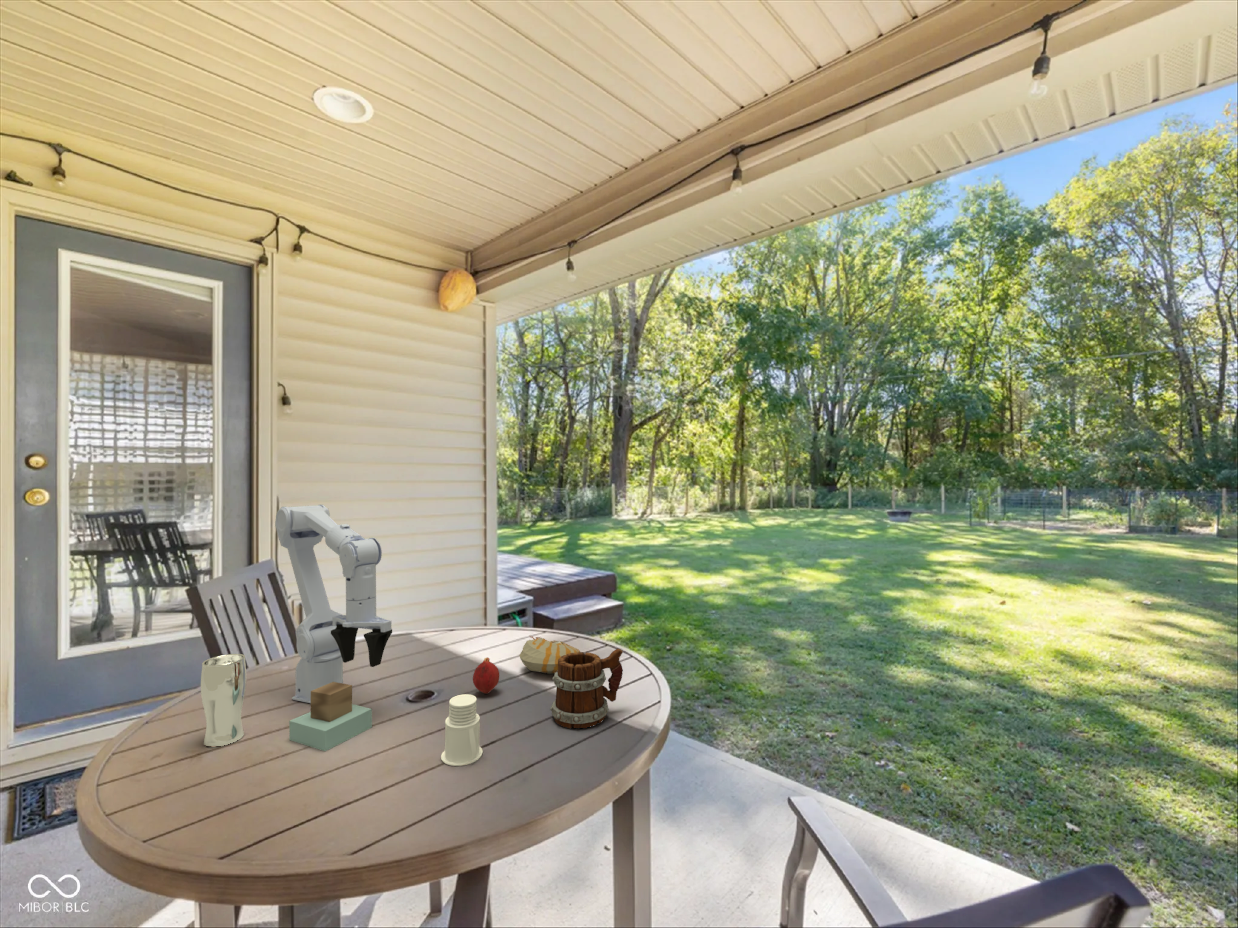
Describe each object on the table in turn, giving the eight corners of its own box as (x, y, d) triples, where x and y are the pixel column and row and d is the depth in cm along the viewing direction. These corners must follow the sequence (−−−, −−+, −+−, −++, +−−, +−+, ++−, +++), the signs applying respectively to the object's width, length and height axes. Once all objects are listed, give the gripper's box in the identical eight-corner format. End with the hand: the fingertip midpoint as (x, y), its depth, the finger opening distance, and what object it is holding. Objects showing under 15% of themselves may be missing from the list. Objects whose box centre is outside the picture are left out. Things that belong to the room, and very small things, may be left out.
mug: (541, 708, 114) (553, 636, 115) (605, 710, 118) (616, 641, 119) (552, 733, 103) (564, 653, 104) (622, 735, 107) (634, 658, 108)
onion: (492, 699, 119) (492, 663, 119) (468, 697, 120) (468, 661, 120) (503, 689, 125) (503, 654, 125) (480, 687, 126) (480, 652, 126)
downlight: (432, 754, 96) (433, 698, 96) (468, 740, 101) (469, 686, 101) (454, 773, 90) (455, 714, 90) (491, 758, 95) (492, 701, 95)
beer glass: (255, 733, 104) (255, 655, 105) (218, 751, 98) (218, 667, 98) (229, 728, 107) (229, 651, 107) (191, 745, 100) (191, 663, 100)
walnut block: (310, 717, 103) (310, 691, 103) (333, 706, 108) (333, 681, 108) (329, 721, 101) (329, 694, 101) (352, 710, 106) (352, 685, 106)
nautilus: (508, 660, 145) (562, 655, 151) (527, 684, 125) (588, 677, 131) (509, 630, 146) (562, 626, 152) (528, 649, 126) (589, 644, 132)
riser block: (289, 742, 102) (289, 720, 102) (337, 719, 111) (337, 700, 111) (325, 753, 98) (325, 730, 98) (371, 729, 107) (371, 708, 107)
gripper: (319, 599, 112) (319, 665, 112) (371, 604, 107) (372, 673, 107) (348, 592, 119) (348, 654, 119) (398, 596, 113) (399, 662, 113)
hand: (361, 663), depth 113 cm, fingers open, 7 cm apart
